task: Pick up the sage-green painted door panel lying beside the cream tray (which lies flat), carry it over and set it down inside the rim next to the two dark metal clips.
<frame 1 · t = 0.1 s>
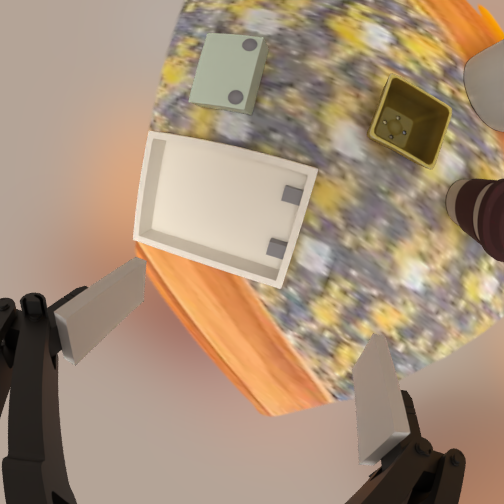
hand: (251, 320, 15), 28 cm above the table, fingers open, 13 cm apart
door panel: (234, 77, 35), on the table
coffee cup: (462, 201, 34), on the table
utensil holder: (493, 93, 26), on the table
flower pot: (392, 127, 33), on the table
tray: (223, 201, 42), on the table
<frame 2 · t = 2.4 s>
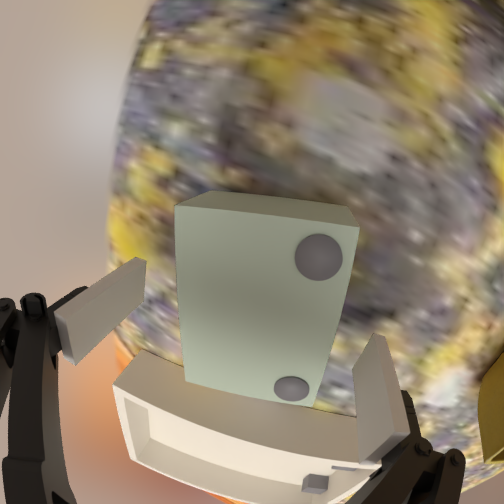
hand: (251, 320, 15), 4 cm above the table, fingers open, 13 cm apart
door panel: (269, 281, 18), on the table
tray: (247, 440, 25), on the table
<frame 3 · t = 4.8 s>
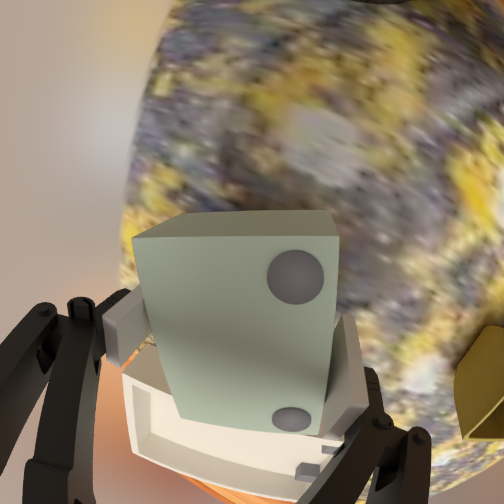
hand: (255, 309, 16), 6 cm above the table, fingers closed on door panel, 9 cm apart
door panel: (257, 305, 16), point 5 cm above the table, touching gripper
flower pot: (481, 349, 20), on the table
tray: (242, 429, 27), on the table
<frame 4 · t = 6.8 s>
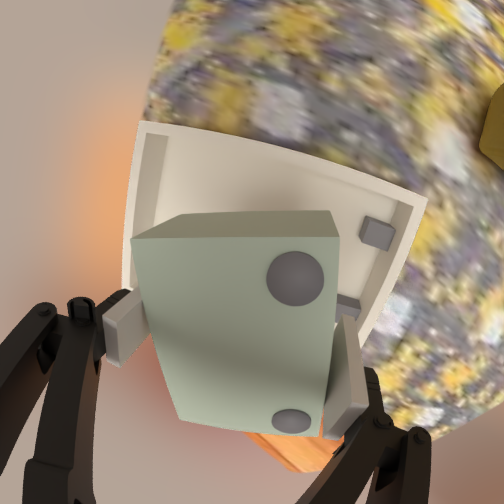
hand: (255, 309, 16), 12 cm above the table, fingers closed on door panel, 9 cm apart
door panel: (257, 306, 16), point 12 cm above the table, touching gripper
flower pot: (497, 139, 18), on the table
tray: (261, 235, 27), on the table
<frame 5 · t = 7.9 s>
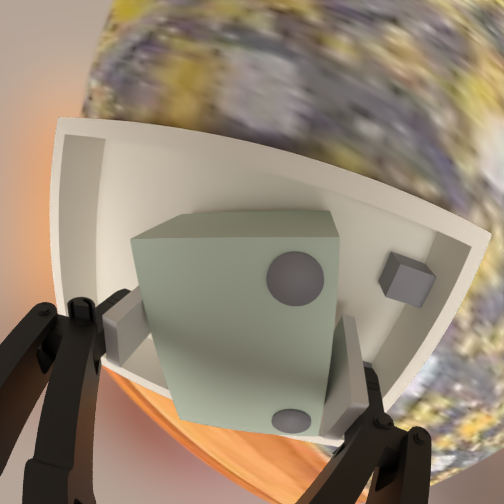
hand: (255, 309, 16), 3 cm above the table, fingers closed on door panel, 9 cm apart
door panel: (257, 306, 16), point 2 cm above the table, touching gripper
tray: (235, 276, 18), on the table
when the fingers open (2 cm above the table, at t = 8.9 s): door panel stays where it is, resting on tray.
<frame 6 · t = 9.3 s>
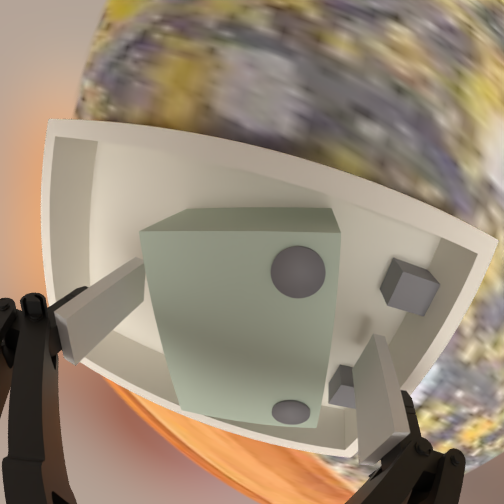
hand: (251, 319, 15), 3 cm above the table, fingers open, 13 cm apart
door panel: (259, 299, 17), point 1 cm above the table, touching tray
tray: (232, 283, 18), on the table
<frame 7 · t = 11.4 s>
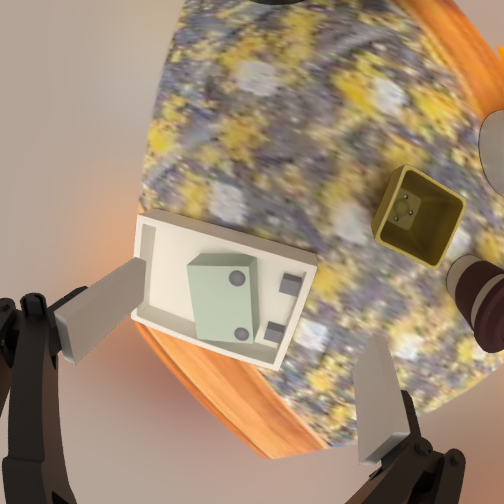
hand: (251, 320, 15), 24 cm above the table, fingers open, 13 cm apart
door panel: (230, 290, 40), point 1 cm above the table, touching tray
coffee cup: (463, 276, 34), on the table
flower pot: (398, 206, 33), on the table
tray: (219, 283, 41), on the table
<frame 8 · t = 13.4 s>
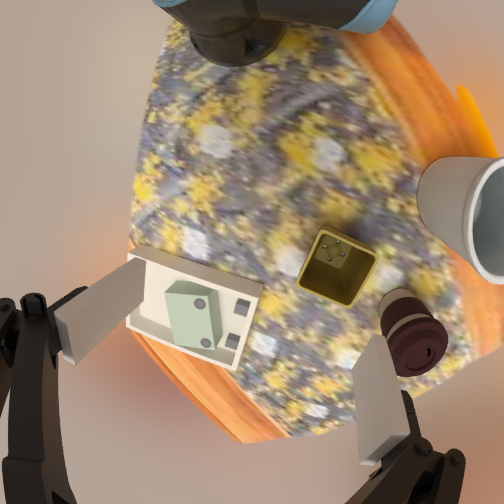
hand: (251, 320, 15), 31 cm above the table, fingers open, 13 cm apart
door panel: (199, 308, 51), point 1 cm above the table, touching tray
coffee cup: (396, 305, 44), on the table
utensil holder: (451, 198, 37), on the table
flower pot: (332, 249, 44), on the table
tray: (192, 302, 52), on the table
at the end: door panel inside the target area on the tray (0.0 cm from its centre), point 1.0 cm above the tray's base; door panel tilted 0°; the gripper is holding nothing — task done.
